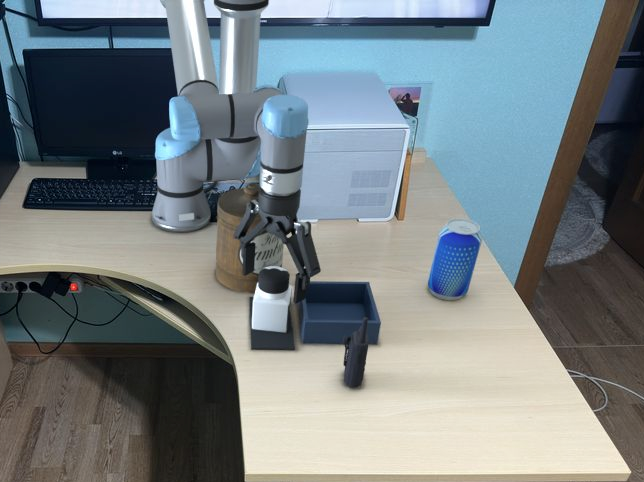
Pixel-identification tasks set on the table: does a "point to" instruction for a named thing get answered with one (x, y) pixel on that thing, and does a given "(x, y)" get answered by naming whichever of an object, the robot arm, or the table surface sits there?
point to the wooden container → (230, 248)
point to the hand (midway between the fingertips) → (272, 286)
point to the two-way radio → (356, 355)
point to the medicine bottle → (272, 300)
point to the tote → (337, 312)
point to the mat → (271, 336)
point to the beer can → (454, 259)
